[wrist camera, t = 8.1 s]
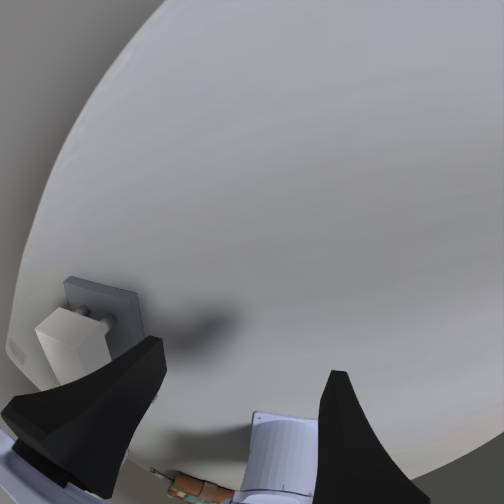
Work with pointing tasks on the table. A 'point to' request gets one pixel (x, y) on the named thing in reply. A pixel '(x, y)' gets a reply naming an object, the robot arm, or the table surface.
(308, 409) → the table surface
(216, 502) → the decorative book
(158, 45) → the table surface
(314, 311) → the table surface
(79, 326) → the white rectangular block
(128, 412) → the robot arm
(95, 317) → the peg stand
